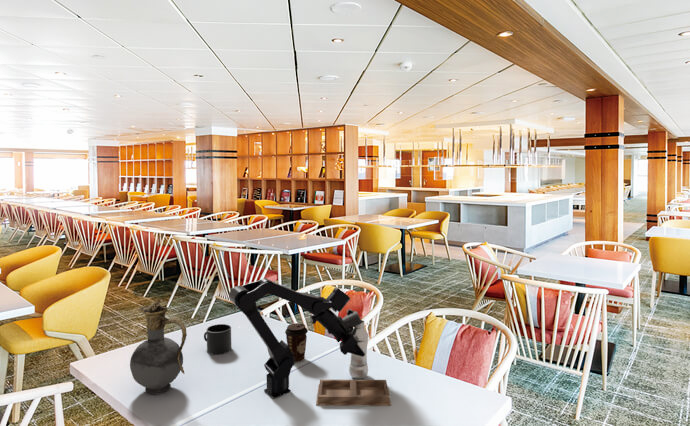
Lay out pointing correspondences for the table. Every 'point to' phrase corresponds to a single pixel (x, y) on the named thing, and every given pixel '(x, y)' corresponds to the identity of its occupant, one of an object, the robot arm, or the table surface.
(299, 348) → the coffee cup
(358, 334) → the silver metal bottle
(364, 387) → the wooden divided tray
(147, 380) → the pitcher
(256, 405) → the table surface
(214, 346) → the mug
